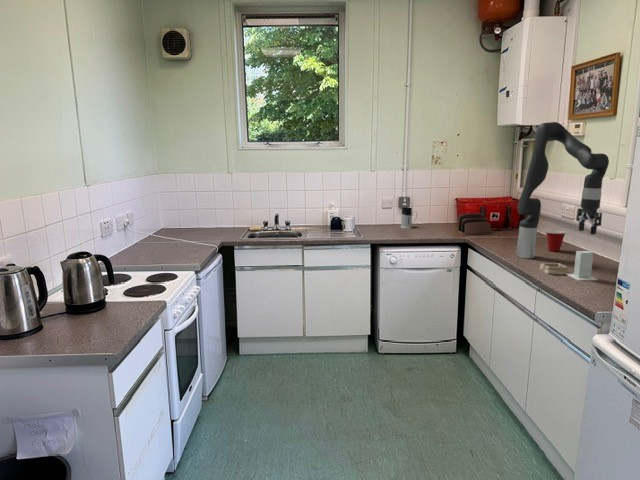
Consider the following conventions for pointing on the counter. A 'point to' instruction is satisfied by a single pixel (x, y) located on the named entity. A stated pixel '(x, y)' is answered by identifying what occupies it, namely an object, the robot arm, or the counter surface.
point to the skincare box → (583, 263)
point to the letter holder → (473, 224)
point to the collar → (553, 268)
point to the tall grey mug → (407, 217)
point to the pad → (581, 277)
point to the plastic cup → (555, 240)
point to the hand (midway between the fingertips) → (586, 232)
